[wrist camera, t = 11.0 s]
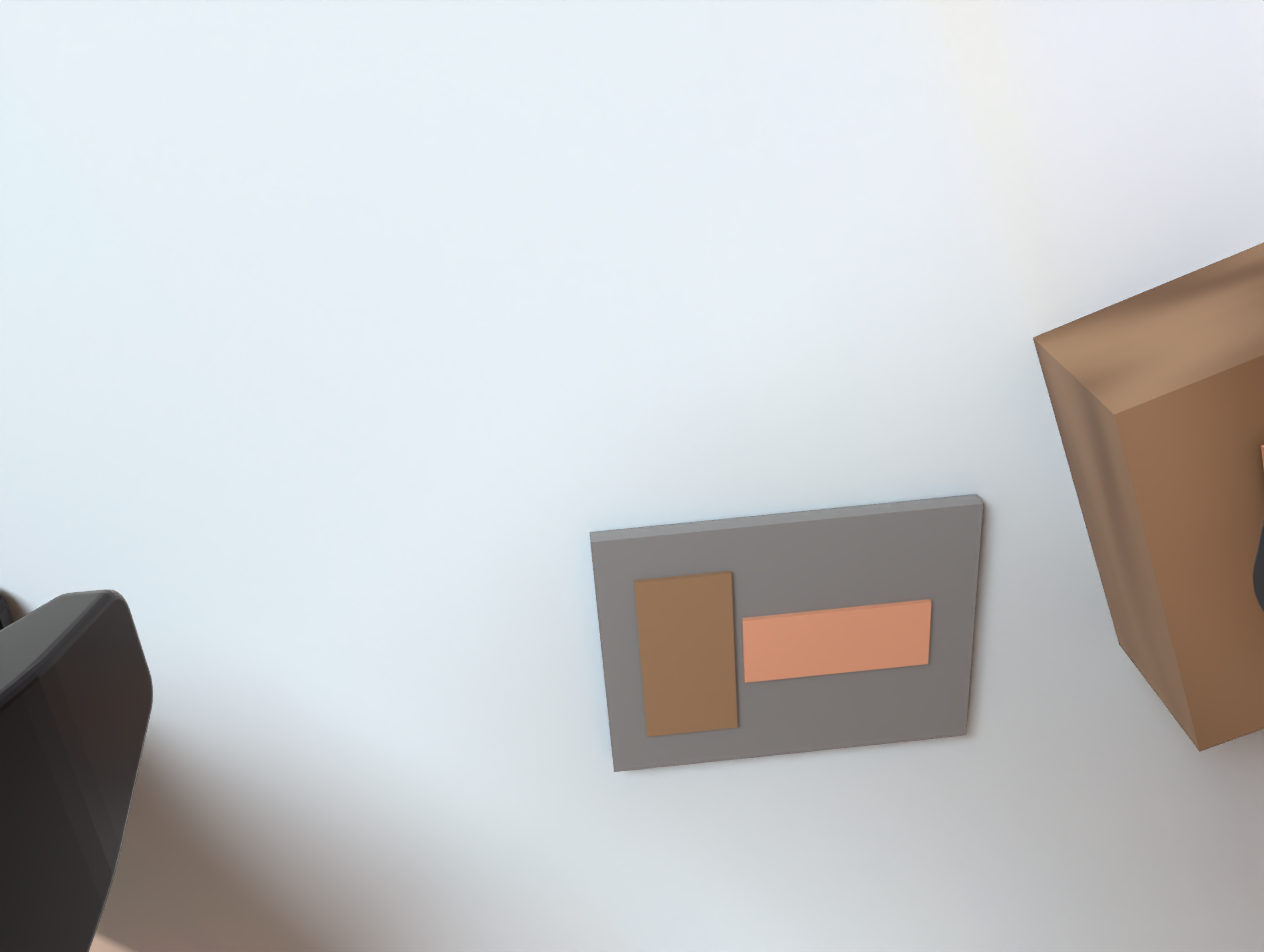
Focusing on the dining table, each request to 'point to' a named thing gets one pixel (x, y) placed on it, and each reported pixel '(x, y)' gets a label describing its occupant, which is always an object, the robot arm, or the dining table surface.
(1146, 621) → the walnut block
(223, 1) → the dining table surface
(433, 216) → the dining table surface
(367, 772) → the dining table surface
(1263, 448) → the terracotta block
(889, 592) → the card
